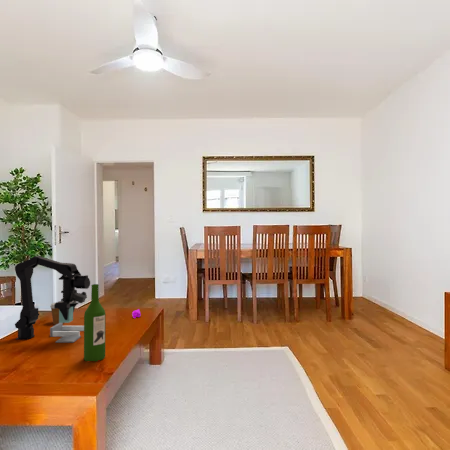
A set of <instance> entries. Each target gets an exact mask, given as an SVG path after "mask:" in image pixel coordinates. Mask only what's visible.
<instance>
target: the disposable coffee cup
mask: <svg viewBox="0 0 450 450" xmlns="http://www.w3.org/2000/svg"><path fill="white" fill-rule="evenodd" d="M57 302H58V301H56V302H51V304H50V310H51V316H52V317H51V318H52V324H53V325H54V326H55V325H56V324H58V323H59V309H58V308H54V304H55V303H57Z"/></svg>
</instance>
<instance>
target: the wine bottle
mask: <svg viewBox="0 0 450 450" xmlns="http://www.w3.org/2000/svg"><path fill="white" fill-rule="evenodd" d="M90 286H91V292H90V293H91V297H90V299H91V300H90V303H89V305H88V307H87V308H86V310H85V311H84V315H83V316H84V317H83V326H84V331H83V360H84V361H85V362H87V361H95V362H99V361H98V360H100V361H102V360H104V359H105V358H106V310H105V308H104V307H103V306H102V304H101V303H100V300H99V299H100V297H99V295H100V292H99V286H100V284H98V283H94V284H90Z"/></svg>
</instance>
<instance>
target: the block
mask: <svg viewBox="0 0 450 450" xmlns="http://www.w3.org/2000/svg"><path fill="white" fill-rule="evenodd" d="M73 320H74V312H73V307H71V308H70V309H69V313H68V319H67V320H65V319H64V317H63V315H62V313H61V312H60V310H59V323H63V324H66V323H67V324H68V323H71V322H73Z"/></svg>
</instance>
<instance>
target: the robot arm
mask: <svg viewBox="0 0 450 450" xmlns="http://www.w3.org/2000/svg"><path fill="white" fill-rule="evenodd" d="M38 266H40V267H41V266H42V267H44V268H48V269H51V270H54V271H56V272H57V273H59V274H60V277H59V278H58V280H61V281H62V290H61V292H60V293H61V294H62V298H61V299H60V301H56V302H57V303H56V302H54V303H55V304H54V308H58V309H59V310H60V312H61V313H62V315H63V317H64V319H65V320H67V319H68V313H69V309H70V308H71V307H73V313H74V312H75V308H76V307H77V306H78V305H79V304H83V303H85V301H86V299H87V298H88V295H87V292H86V291H82V292H78V289H82V290H84V289H85V290H88V289H89V288H90V286H91V280H90V278H89V275H88V274H87V275H86V274H85V275H82V273H80V271H79V269H78V266H77V265H76V264H75V263H72V262H71V263H70V262H59V261H56V260H53V259H50V258H47V257H43V256H41V255H37V256H36V255H35V256H32V257H31V258H29V259H27V260H24V261H22V262H18V263H16V265H15V266H14V272H15V275H16V276H17V278H18V279H19V284H20V294H21V304H22V308H21V310H20V313H19V319H18V320H17V321H16V322H15V323H14V326H15V328H16V329H17V338H15V340H22V341H23V340H31V339H32V338H33V337H35V336H36V335H35V328H34V325H36V322H37V320H38V319H39V316H40V313H39V307H35V305H34V301H33V300H34V299H33V298H34V297H33V288H32V277H33V273H34V268H36V267H38Z"/></svg>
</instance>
